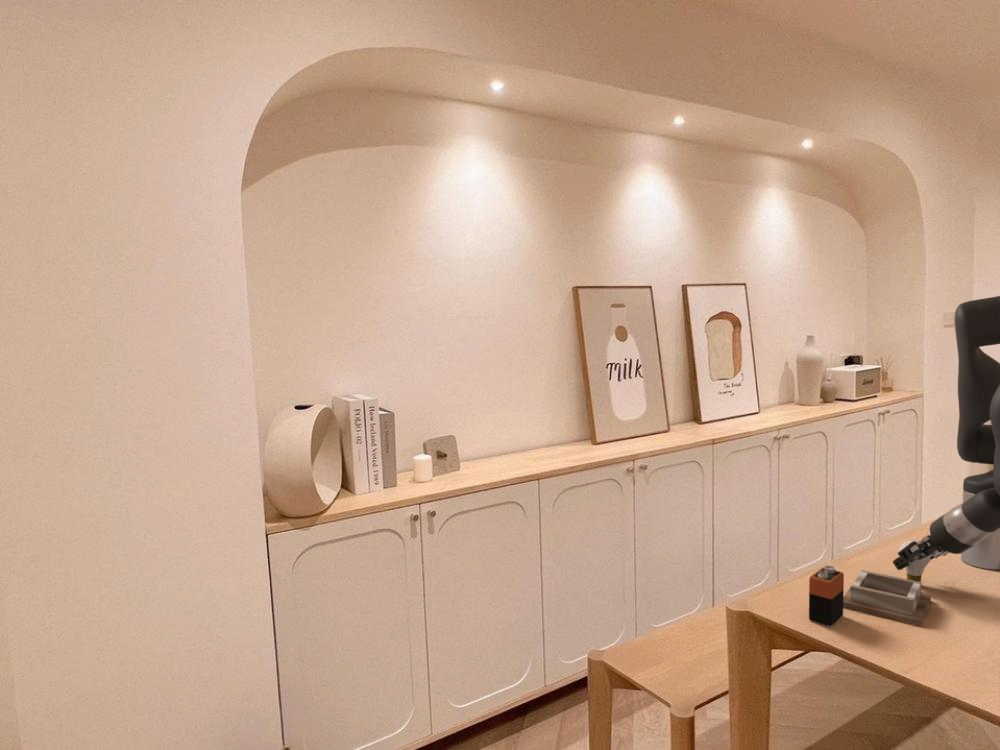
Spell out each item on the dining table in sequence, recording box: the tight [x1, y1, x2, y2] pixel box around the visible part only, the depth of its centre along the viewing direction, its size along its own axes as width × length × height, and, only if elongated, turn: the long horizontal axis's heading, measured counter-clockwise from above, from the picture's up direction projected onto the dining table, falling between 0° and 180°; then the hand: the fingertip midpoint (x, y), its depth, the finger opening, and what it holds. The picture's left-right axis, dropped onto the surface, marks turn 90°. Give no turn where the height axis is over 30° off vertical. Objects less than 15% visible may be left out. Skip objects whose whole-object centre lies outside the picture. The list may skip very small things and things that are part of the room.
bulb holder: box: [843, 569, 932, 627], centre depth 133 cm, size 14×14×4 cm
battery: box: [808, 565, 845, 627], centre depth 127 cm, size 4×7×10 cm, turn 133°
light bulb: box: [898, 539, 931, 582], centre depth 141 cm, size 6×6×10 cm
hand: (907, 563), depth 143 cm, fingers closed on light bulb, 6 cm apart
